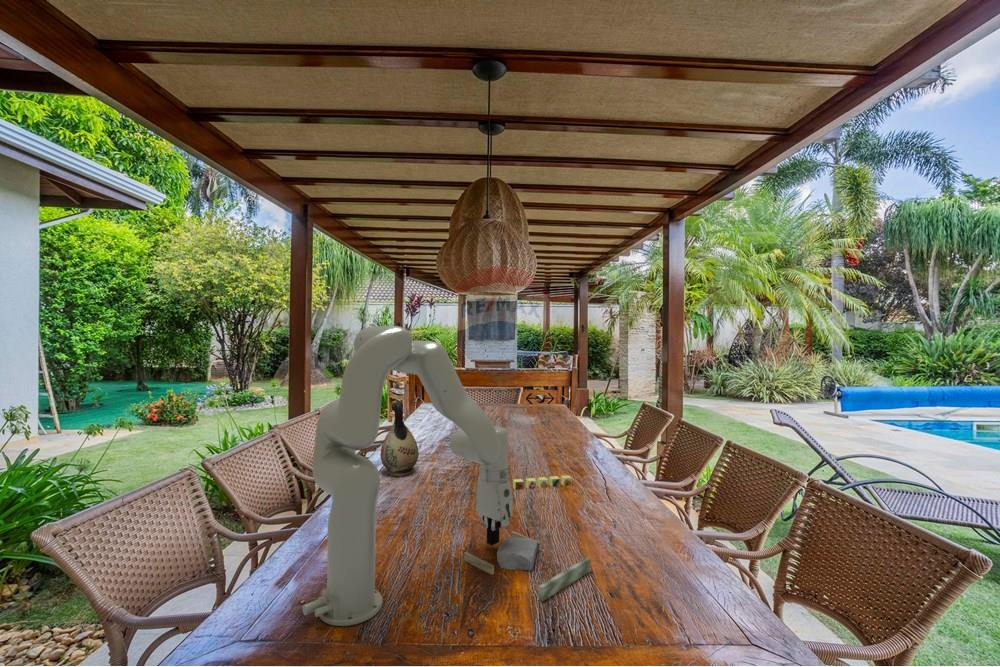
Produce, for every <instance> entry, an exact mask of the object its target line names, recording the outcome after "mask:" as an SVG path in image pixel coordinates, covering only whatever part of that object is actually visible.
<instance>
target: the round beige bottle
mask: <svg viewBox="0 0 1000 667" xmlns="http://www.w3.org/2000/svg"><path fill="white" fill-rule="evenodd" d="M403 408H404V404H403V402H400V401H396V402H394V403H392V405H391V410H392V412H393V411H394V420H393V424H392V426H391V427H390V429H389V430H388V432H387V434H386V435H385V437H384V439H383V441H382V444H381V448H380V455H379V456H380V461H381V464H382V465H383V466H384V467H385V469H386V470H387V471H388V473H389V475H390V476H394V477H395V476H396V477H402V476H406V475H409V474H412V472H413V468H414V467H415V466H416V464H417V462H418V460H419V453H420V452H419V446H418V443H417V440H416V439H415V436H414V435H413V434H412V432H411V430H409V427H408V426H407V425H406V424H405V421H404V412H403V411H404V410H403Z"/></svg>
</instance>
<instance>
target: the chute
mask: <svg viewBox="0 0 1000 667" xmlns="http://www.w3.org/2000/svg"><path fill="white" fill-rule="evenodd" d="M516 537H518V538H526V539H531V540H535V539H533V538H531V537H528V536H526V535H523V534H521V533H519V532H517V531H511V538H516ZM537 546H538V547H537V552H538V551H539V552H540V551H541V550H542V542H540V541H539V540H537ZM463 554H464V556H463V561H464V562H466V563H468V564H470V565H472V566H474V567H476V568H478V569H479V570H481V571H483V572H485V573H487V574H489V575H490V576H493V575H494V574H495V565H493V564H492V563H489V562H488V561H486V560H484V559H481V557H478V556H475V555H474V554H473V553H470V552H467V551H465V552H463ZM590 572H591V558H590V557H585V558H583V559H582V560H580V561H579V562H577V563H575V564H574V565H572V566H570V567H568V568H566V569H564V570H563V571H562V572H560V573H558V574H557V575H555V576H553V577H551V578H550V579H548V580H547V581H544V583H541V584H540V585H539V586H538V601H541V602H544V601H546V600H547V599H549V598H551V597H552V596H554V595H556V594H557V593H559V592H560V591H562V590H563V589H565V588H566V587H568V586H569V585H571V584H572V583H574V582H576V581H578V580H579V579H581V577H584V576H586V574H589V573H590Z"/></svg>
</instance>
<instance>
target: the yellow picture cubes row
mask: <svg viewBox="0 0 1000 667" xmlns="http://www.w3.org/2000/svg"><path fill="white" fill-rule="evenodd" d="M561 485H562V486H564V487H566V486H573V477H571V476H570V475H569V474H568V475H560V477H559V476H556V475H555V476H553V475H552V476H549V477H548V478H547V477H546V476H542V477H537V478H535V477H529V478H525V482H524V480H523V479H522V478H516V479H512V487H513V488H512V489H514V490H515V491H520V490H524V488H525V487H526V488H527V489H528V490H531V489H537V486H538V487H539V488H540V489H543V488H544V489H545V488H549V486H551V488H555V487H561Z"/></svg>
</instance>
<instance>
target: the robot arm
mask: <svg viewBox="0 0 1000 667" xmlns="http://www.w3.org/2000/svg"><path fill="white" fill-rule="evenodd" d="M353 341H354V342H353V348H354V351H355V352H354V353H353V355H352V356H351V357H350V359H349V360H348V362H347V364H346V366H345V367H344V368H345V369H344V370H343V371H344V372H343V374H342V375H343V376H342V379H341V387H340V392H339V399H336V400H333V401H331V402H330V403H328V404H327V405H326V406H324V408H323V409H322V411H321V412H320V414H319V416H318V420H317V422H316V429H315V437H314V444H313V445H314V447H313V457H312V477H313V480H314V482H315V484H316V485H317V486H318V488H320V489H321V490H322V491H324V492H326V493H328V495H330V496H331V497H332V498H331V499H332V501H331V502H332V503H331V505H330V506H331V507H330V510H329V515H328V519H327V520H328V521H327V554H326V555H327V556H326V557H327V566H326V567H327V571H326V572H327V575H326V588H324V589H322V591H321V596H318V597H317V599H316V600H314V601H310V602H307V603H305V604H303V605H302V614H303V615H304V616H307V615H310V614H312V613H314V616H315V617H316V618H318V617H319V619H320V620H321V621H322V622H324V623H326V624H328V625H331V626H335V627H336V626H337V627H346V626H354V625H358V624H361V623H363V622H366V621H368V620H370V619H371V618H373V617H374V616H376V615H377V614H378V612H380V611H381V608H382V606H383V596H382V594H381V593H380V592H379V591H378V590H377V589H376V530H377V528H376V525H377V524H376V520H377V506H378V499H379V494H380V489H381V475H380V472H379V469H378V468H377V466H376V464H375V463H373V461H371V459H368V458H367V457H365V456H363V455H360V454H358V453H356V450H359V451H360V450H366V449H367V448H369V447H370V446H372V445H374V443H375V442H376V439H377V438H378V434H379V431H380V430H379V429H380V420H381V419H380V418H381V408H382V396H383V390H384V386H385V385H384V384H385V383H386V382H385V381H386V378H388V376H389V374H390V372H391V371H396V372H399V373H404V374H407V375H415V376H417V377H418V378H419V381H420V382H421V384H422V386H423V389H424V390H425V392H426V394H427V395H428V398H429V400H430V403H431V404H432V406H433V408H434V409H435V410H436V411H437V412H438V413H439V414H441V415H442V416H443V417H444V418H446V419H447V420H449V421H450V422H452V423H453V424H454V425H456V426H458V427H459V428H460V429H459V430H457V431H456V432H454V433H453V435H451V438H450V441H449V447H450V450H451V452H452V454H454V456H456V457H458V458H461V459H463V460H467V461H471V462H473V463H476V464H479V476H478V479H477V485H476V493H475V494H476V495H475V510H476V512H477V515H478V517H479V518H481V519H482V520H483V523H484V527H485V529H486V544H487V545H489V546H494V545H496V544H498V543H499V542H500V529H501V528H502V527H507V526H509V525H510V518H513V517H514V516H513V515H514V503H513V501H514V500H513V499H514V498H513V491H512V489H513V488H512V484H511V481H510V480H509V479H510V474H509V472H508V471H509V469H508V468H509V432H508V430H507V429H506V428H505V427H502V426H495V425H494V424H493V422H492V421H491V419H490V417H489V416H488V414H487V413H486V412H485V411H484V410H483V409H482V408H481V406H480V405H479V404H478V403H477V402H476V401H475V400H474V399H473V398H472V397H471V395H469V394H468V393H467V392H466V390H465V388H464V386H463V383H462V382H461V379H460V377H459V376H458V373H457V371H456V369H455V367H454V364H453V363H452V360H451V358H450V356H449V354H448V351H447V350H446V348H445V347H444V346H443V345H442V344H441V343H439V342H437V341H433V340H432V341H431V340H414V338H413V336H412V334H411V332H410V331H409V330H408V329H406V328H404V327H402V326H398V325H382V326H381V325H379V326H378V325H377V326H375V325H374V326H373V325H372V326H366V327H364V328H362V329H361V330H359V332H357V334H356V336H355V337H354V339H353Z"/></svg>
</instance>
